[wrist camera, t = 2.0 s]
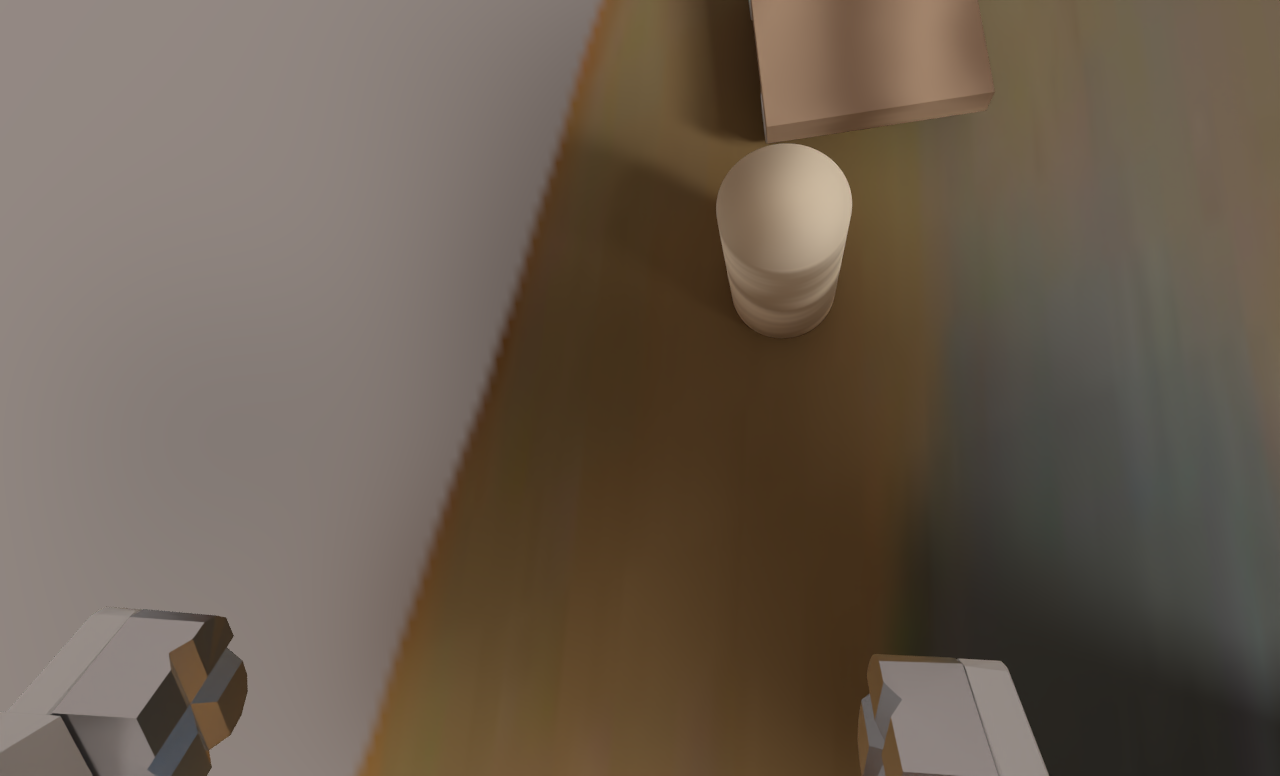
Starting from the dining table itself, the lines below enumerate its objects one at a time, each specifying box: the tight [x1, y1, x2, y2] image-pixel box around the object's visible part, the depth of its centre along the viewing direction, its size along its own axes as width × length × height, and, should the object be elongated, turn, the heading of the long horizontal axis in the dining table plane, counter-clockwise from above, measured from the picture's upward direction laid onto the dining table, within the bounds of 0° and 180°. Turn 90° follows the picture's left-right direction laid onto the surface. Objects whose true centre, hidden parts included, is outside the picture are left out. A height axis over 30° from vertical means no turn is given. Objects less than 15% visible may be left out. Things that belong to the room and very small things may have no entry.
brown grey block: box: [748, 0, 995, 144], centre depth 39 cm, size 10×11×6 cm
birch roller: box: [716, 143, 852, 338], centre depth 36 cm, size 5×5×10 cm
